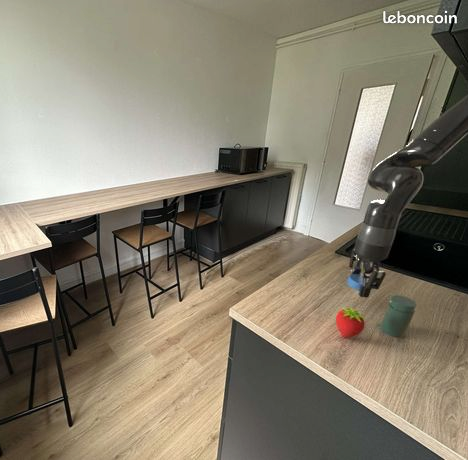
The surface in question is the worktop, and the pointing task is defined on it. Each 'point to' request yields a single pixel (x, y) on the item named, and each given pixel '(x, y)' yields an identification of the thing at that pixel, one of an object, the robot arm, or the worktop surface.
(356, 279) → the jar lid
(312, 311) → the worktop surface
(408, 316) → the jar
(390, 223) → the robot arm
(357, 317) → the strawberry
